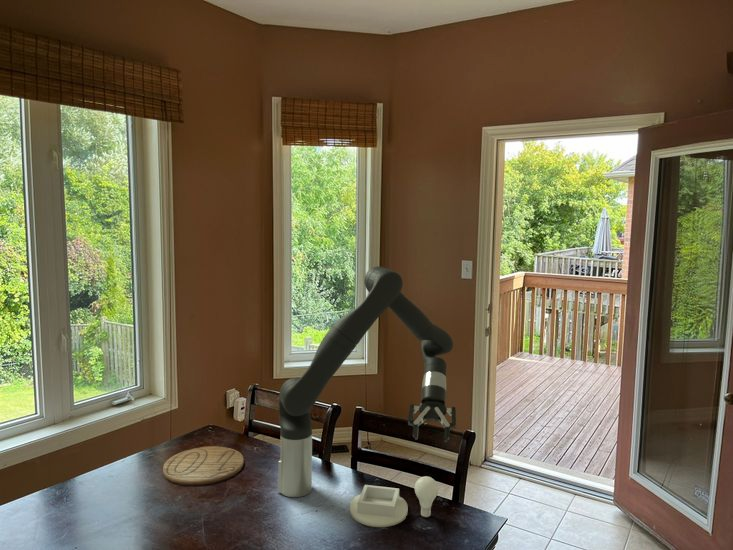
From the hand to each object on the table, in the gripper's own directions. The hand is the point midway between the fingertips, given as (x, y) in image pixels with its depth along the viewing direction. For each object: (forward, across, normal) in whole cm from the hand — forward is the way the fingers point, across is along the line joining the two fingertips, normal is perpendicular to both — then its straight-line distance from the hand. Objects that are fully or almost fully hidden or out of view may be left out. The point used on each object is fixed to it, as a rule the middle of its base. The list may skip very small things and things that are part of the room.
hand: (430, 439), depth 153 cm
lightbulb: (+20, 0, +4) cm, 21 cm away
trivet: (+10, -73, +13) cm, 75 cm away
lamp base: (+20, -13, +3) cm, 24 cm away
